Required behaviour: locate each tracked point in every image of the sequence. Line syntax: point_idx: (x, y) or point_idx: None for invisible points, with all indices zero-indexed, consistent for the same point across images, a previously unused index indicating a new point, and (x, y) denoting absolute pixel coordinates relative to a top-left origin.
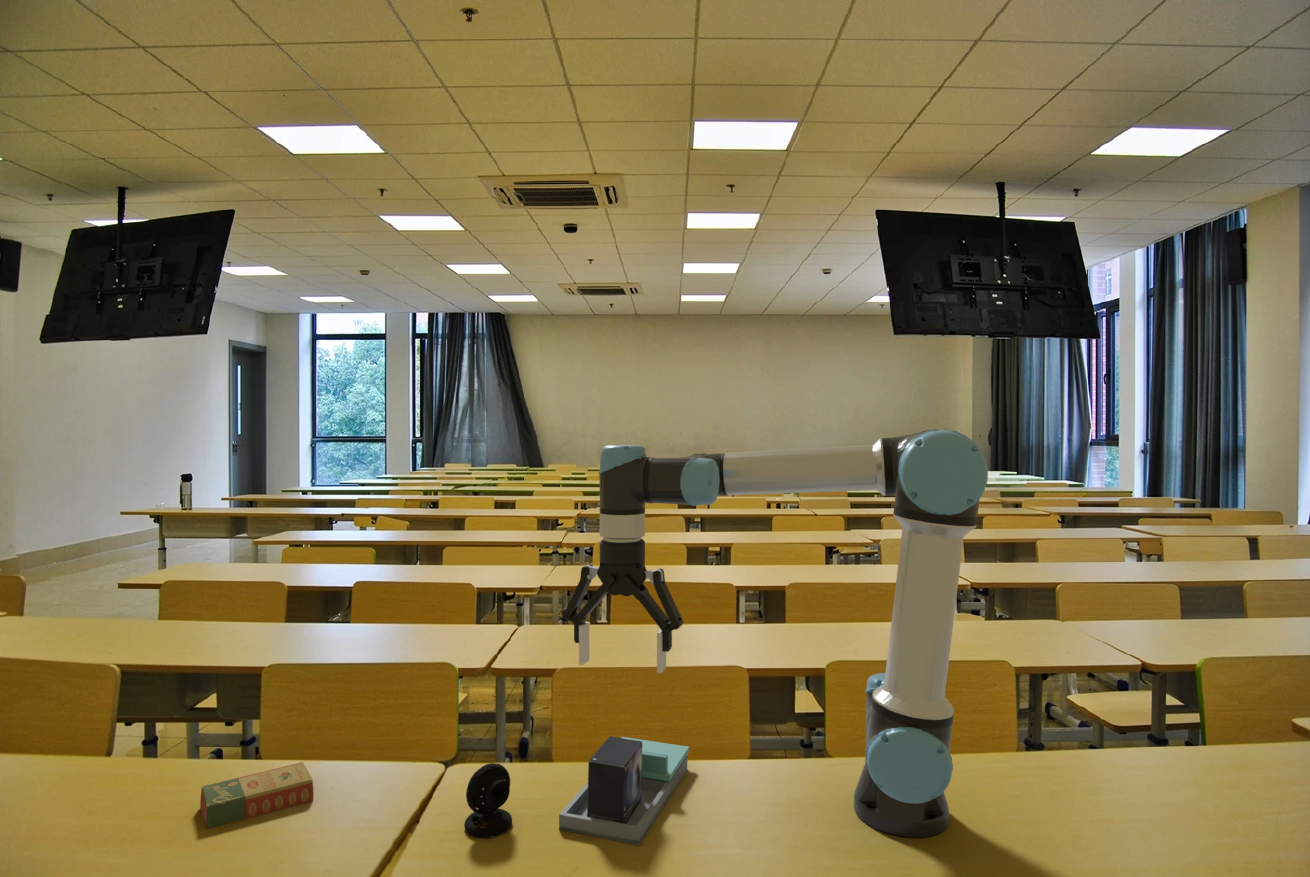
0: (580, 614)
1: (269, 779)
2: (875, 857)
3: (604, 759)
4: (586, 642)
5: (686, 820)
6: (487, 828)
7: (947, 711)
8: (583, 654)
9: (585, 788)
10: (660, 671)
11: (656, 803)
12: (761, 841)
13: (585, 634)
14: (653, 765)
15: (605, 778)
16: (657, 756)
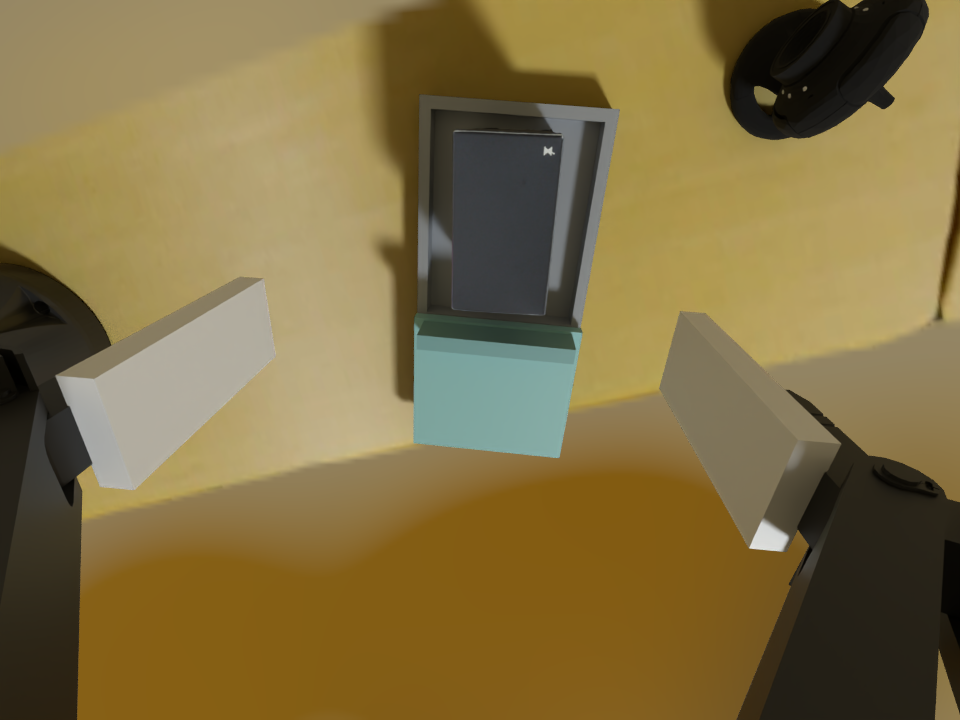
0: (905, 529)
1: None
2: (16, 183)
3: (518, 156)
4: (708, 411)
5: (366, 224)
6: (788, 25)
7: None
8: (698, 337)
9: (587, 246)
10: (240, 280)
11: (418, 221)
12: (211, 183)
13: (739, 432)
14: (449, 329)
15: (508, 130)
16: (436, 337)
